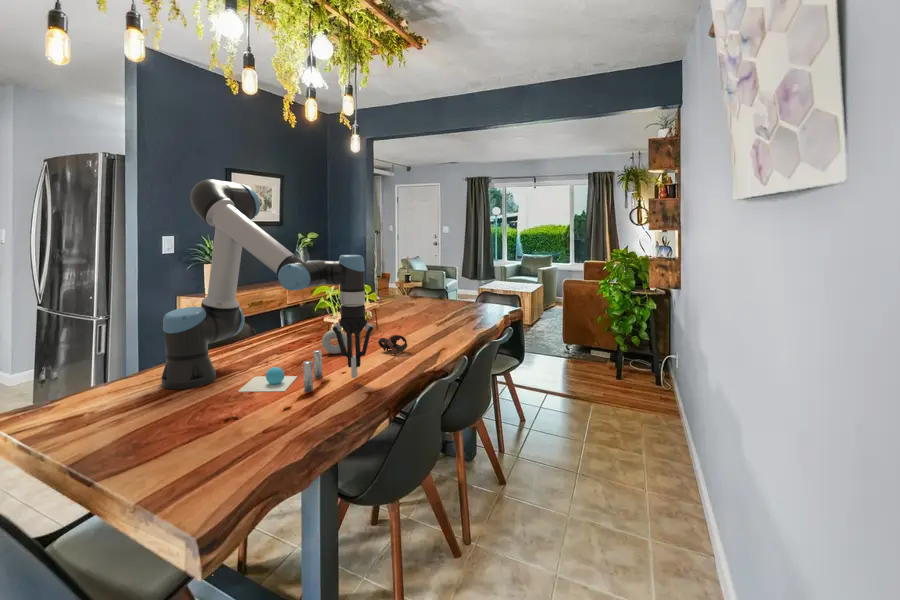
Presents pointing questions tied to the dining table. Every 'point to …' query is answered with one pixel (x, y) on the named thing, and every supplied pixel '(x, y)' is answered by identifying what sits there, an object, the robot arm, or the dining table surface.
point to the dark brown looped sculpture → (393, 344)
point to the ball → (275, 375)
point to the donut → (327, 342)
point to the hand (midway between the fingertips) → (354, 376)
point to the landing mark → (267, 385)
